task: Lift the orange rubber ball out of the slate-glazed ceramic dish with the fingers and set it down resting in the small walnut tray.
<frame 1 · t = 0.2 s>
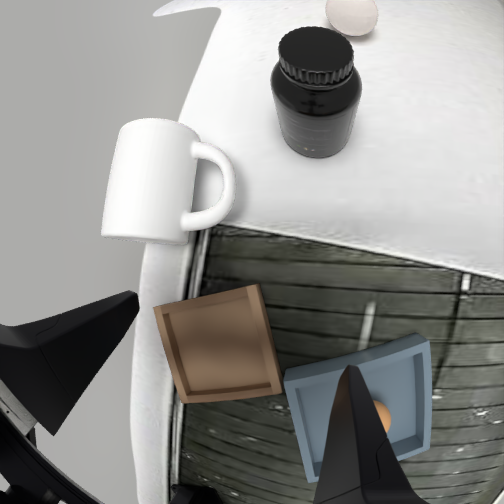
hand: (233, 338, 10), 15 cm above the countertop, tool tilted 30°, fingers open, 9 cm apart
dish: (362, 408, 22), on the countertop
mug: (188, 196, 27), on the countertop
supplement bottle: (315, 130, 25), on the countertop
ball: (367, 422, 19), point 3 cm above the countertop, touching dish
egg: (349, 32, 24), on the countertop
tray: (221, 345, 25), on the countertop
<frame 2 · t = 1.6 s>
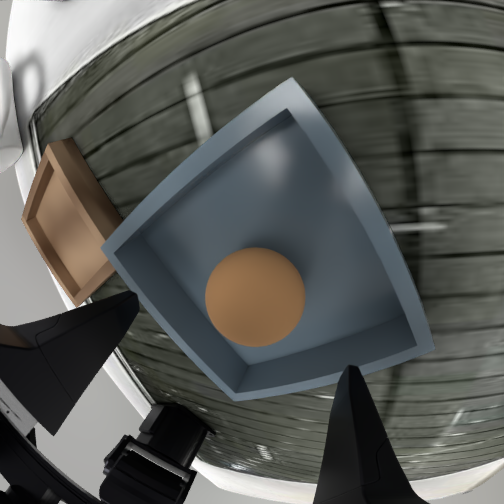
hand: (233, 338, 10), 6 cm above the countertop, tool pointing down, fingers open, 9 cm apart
dish: (270, 266, 15), on the countertop
mug: (20, 105, 16), on the countertop
ball: (255, 297, 12), point 3 cm above the countertop, touching dish
tray: (78, 225, 19), on the countertop
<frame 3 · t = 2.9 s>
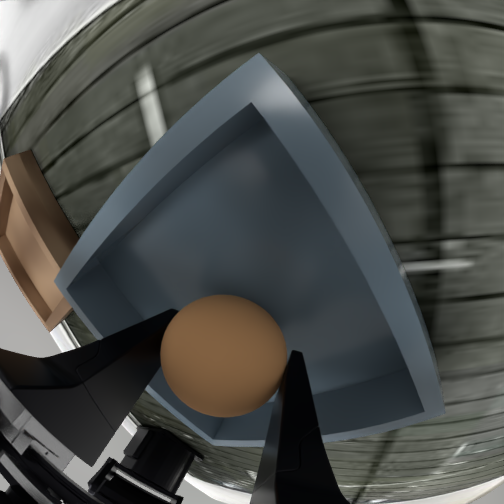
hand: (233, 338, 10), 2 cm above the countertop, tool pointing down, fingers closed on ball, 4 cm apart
dish: (248, 309, 12), on the countertop
ball: (223, 356, 9), point 3 cm above the countertop, touching dish, gripper
tray: (43, 246, 16), on the countertop
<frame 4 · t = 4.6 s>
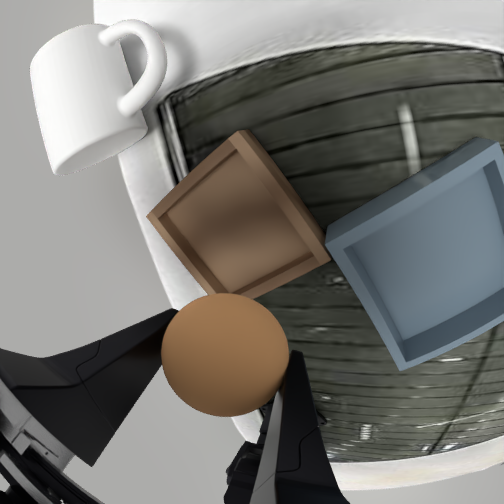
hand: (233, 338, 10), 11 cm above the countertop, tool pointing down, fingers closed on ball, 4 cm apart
dish: (441, 256, 17), on the countertop
mug: (134, 85, 18), on the countertop
ball: (224, 355, 9), point 12 cm above the countertop, touching gripper
tray: (239, 224, 21), on the countertop
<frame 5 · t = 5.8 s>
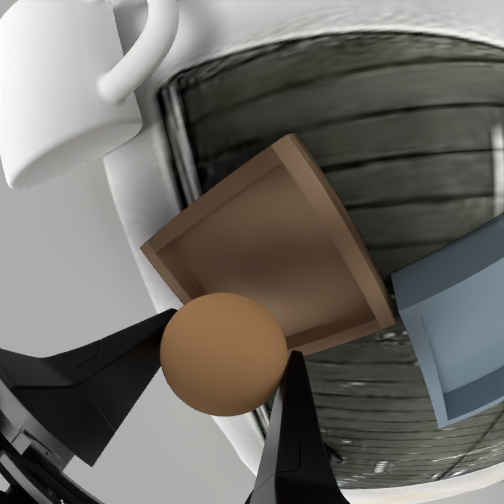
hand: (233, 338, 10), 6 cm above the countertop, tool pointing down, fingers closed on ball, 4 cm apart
dish: (503, 308, 11), on the countertop
mug: (128, 62, 12), on the countertop
ball: (223, 355, 9), point 7 cm above the countertop, touching gripper
tray: (270, 264, 15), on the countertop
when the fingers open (3 cm above the countertop, at t = 6.6 s): ball stays where it is, resting on tray.
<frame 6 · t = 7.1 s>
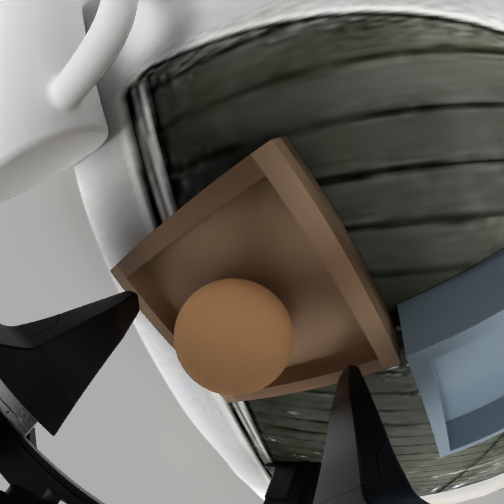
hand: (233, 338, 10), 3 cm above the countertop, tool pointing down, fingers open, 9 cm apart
mug: (98, 60, 10), on the countertop
ball: (233, 337, 10), point 3 cm above the countertop, touching tray
tray: (257, 291, 13), on the countertop
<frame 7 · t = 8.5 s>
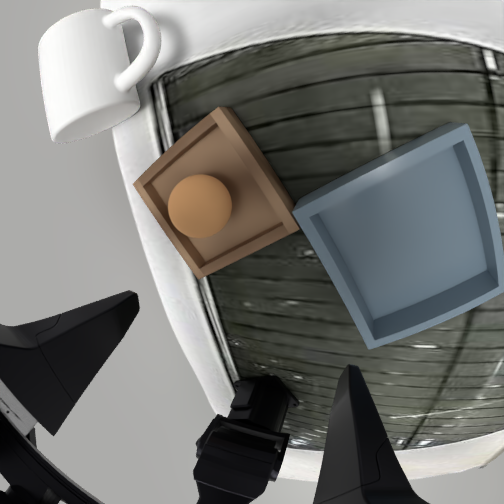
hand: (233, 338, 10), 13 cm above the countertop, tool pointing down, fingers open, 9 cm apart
dish: (412, 236, 18), on the countertop
mug: (132, 65, 19), on the countertop
ball: (199, 206, 19), point 3 cm above the countertop, touching tray
tray: (217, 194, 22), on the countertop
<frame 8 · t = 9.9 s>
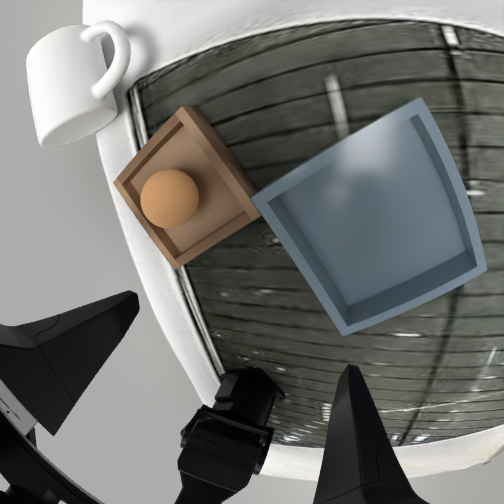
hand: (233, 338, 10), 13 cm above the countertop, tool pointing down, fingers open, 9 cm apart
dish: (379, 218, 19), on the countertop
mug: (111, 74, 20), on the countertop
ball: (169, 198, 20), point 3 cm above the countertop, touching tray
tray: (189, 188, 23), on the countertop
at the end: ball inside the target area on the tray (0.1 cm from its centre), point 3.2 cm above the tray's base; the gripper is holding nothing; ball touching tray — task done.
